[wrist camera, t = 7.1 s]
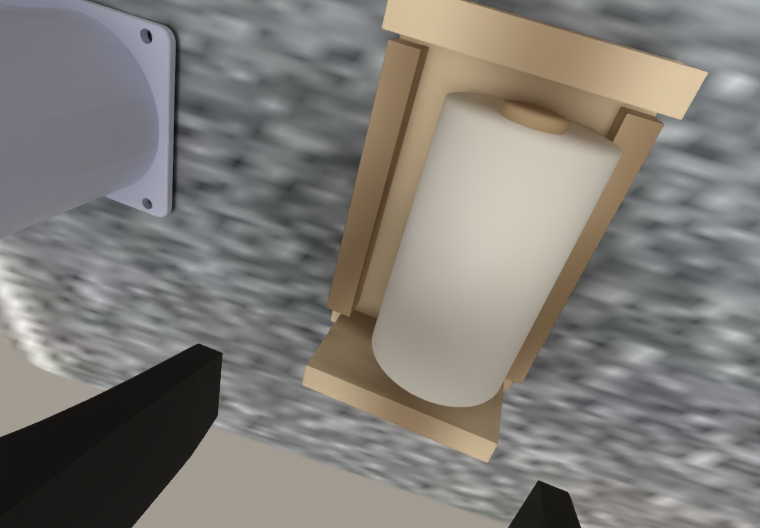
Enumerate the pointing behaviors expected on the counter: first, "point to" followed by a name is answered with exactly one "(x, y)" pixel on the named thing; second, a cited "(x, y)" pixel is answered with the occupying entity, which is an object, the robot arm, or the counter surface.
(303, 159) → the counter surface
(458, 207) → the paper roll
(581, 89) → the holder
